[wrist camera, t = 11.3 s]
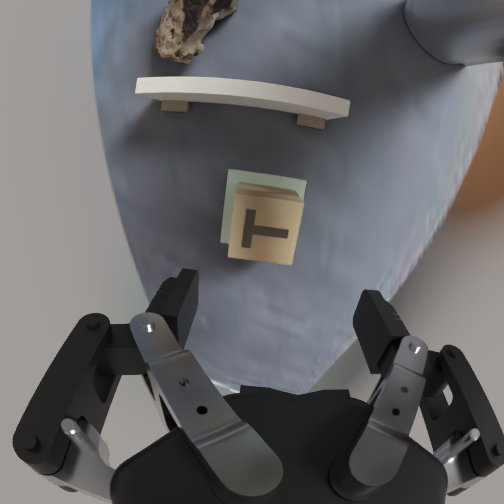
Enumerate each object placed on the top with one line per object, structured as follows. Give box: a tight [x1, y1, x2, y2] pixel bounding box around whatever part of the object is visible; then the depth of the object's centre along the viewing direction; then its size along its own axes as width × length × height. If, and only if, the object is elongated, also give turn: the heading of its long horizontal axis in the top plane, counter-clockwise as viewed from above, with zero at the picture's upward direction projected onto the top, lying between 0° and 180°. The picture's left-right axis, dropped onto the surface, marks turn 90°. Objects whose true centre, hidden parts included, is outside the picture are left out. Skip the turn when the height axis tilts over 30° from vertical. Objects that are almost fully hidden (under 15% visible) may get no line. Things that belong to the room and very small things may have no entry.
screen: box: [135, 77, 350, 130], centre depth 18 cm, size 15×3×6 cm, turn 82°
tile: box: [220, 169, 307, 244], centre depth 25 cm, size 7×7×1 cm
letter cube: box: [228, 182, 304, 265], centre depth 22 cm, size 5×5×5 cm
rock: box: [154, 0, 238, 64], centre depth 15 cm, size 9×7×10 cm
